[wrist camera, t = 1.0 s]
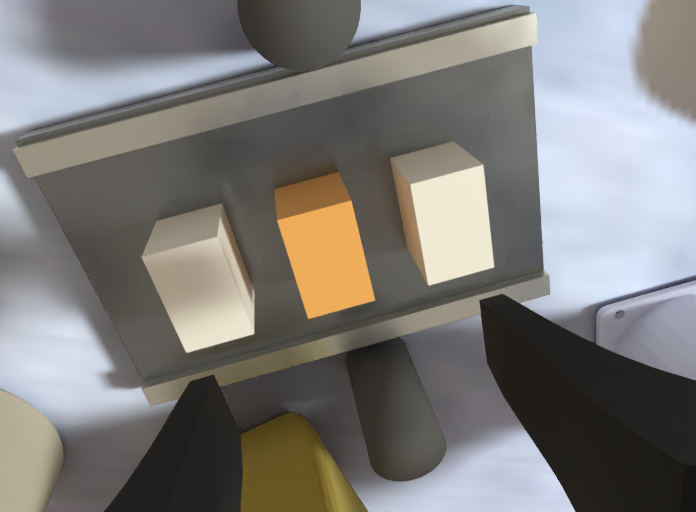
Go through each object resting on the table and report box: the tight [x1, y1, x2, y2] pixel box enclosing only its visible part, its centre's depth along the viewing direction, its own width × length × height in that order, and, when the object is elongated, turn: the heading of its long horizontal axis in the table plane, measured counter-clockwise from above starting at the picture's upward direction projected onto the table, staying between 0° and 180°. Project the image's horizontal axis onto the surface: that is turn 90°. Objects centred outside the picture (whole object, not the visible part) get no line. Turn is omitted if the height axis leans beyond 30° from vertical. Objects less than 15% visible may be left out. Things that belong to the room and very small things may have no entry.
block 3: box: [390, 141, 494, 286], centre depth 20 cm, size 2×4×3 cm, turn 13°
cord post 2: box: [346, 337, 446, 481], centre depth 23 cm, size 3×3×6 cm
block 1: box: [142, 203, 254, 353], centre depth 20 cm, size 2×4×3 cm, turn 13°
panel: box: [13, 5, 550, 406], centre depth 21 cm, size 18×12×2 cm, turn 103°
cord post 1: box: [238, 0, 361, 71], centre depth 16 cm, size 3×3×6 cm
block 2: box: [274, 172, 375, 319], centre depth 20 cm, size 2×4×3 cm, turn 13°
